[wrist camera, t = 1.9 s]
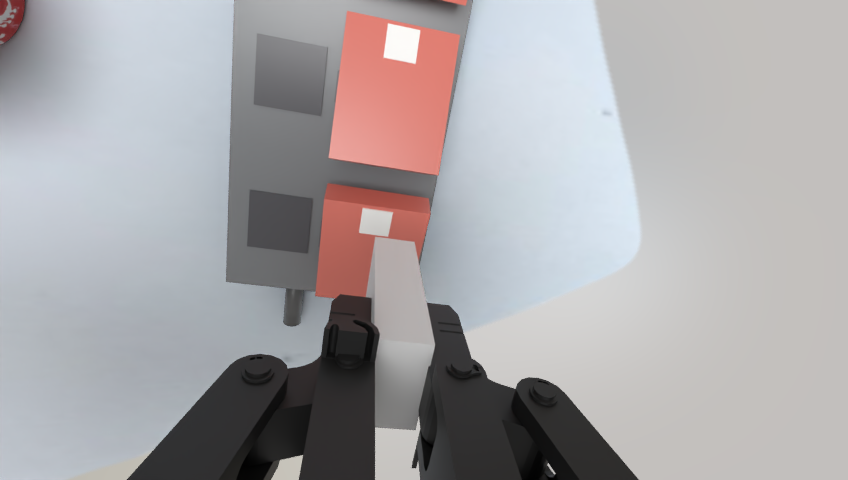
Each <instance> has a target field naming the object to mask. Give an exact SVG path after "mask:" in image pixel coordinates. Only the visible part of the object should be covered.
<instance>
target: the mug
mask: <svg viewBox="0 0 848 480" xmlns="http://www.w3.org/2000/svg"><path fill="white" fill-rule="evenodd" d="M24 8H25V0H0V45H2V44H3V43H5V42H6V41H8V40H9V39H10V38H11V37H12V36H13V35H14V34H15V33H16V31H17V29H18V27H19V25H20V23H21V21H22V19H23V14H24Z"/></svg>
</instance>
